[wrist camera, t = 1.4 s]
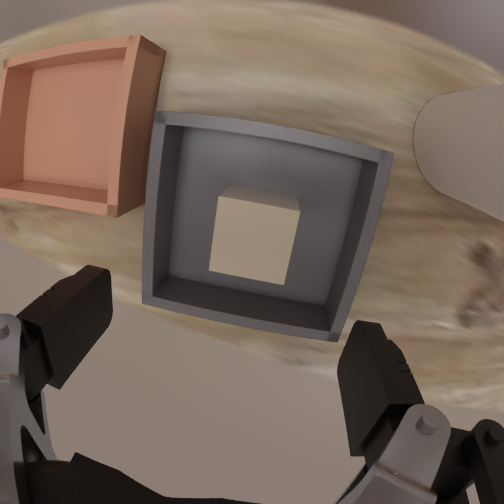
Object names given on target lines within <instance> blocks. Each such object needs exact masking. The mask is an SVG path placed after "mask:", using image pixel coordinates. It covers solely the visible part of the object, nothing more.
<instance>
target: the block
mask: <svg viewBox="0 0 504 504" xmlns="http://www.w3.org/2000/svg"><path fill="white" fill-rule="evenodd" d="M299 215H300V208H299V204H298V199H297V195H292V194H287V193H282V192H277V191H271V190H266V189H261V188H255V187H250V186H244V185H238V184H232V185H231V186H229V187H228V188H227V189H226V190H225V191H224V192H223V193H222V194H220V195H219V197H218V204H217V211H216V218H215V226H214V233H213V241H212V249H211V257H210V265H209V271H214V272H219V273H224V274H229V275H234V276H239V277H244V278H249V279H254V280H260V281H265V282H270V283H275V284H281V285H284V282H285V277H286V273H287V269H288V264H289V260H290V256H291V251H292V247H293V243H294V238H295V234H296V229H297V224H298V220H299Z"/></svg>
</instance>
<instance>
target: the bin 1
mask: <svg viewBox="0 0 504 504" xmlns="http://www.w3.org/2000/svg"><path fill="white" fill-rule="evenodd" d="M165 54H166V51H165V50H163V49H162V48H160V47H159V46H157V45H156V44H154V43H153V42H151V41H149V40H148V39H146V38H145V37H143V36H141V35H135V36H123V37H113V38H104V39H97V40H90V41H83V42H78V43H72V44H67V45H62V46H57V47H52V48H48V49H43V50H39V51H35V52H31V53H28V54H24V55H20V56H17V57H14V58H10V59H7V60H4V64H3V69H2V75H1V80H0V197H3V198H8V199H14V200H20V201H26V202H32V203H38V204H43V205H49V206H55V207H60V208H66V209H72V210H77V211H83V212H89V213H94V214H100V215H105V216H111V217H116V218H117V217H119V216H121V215H123V214H125V213H127V212H128V211H130V210H132V209H134V208H136V207H138V206H140V205H142V204H144V203H145V194H146V182H147V171H148V162H149V153H150V144H151V136H152V129H153V122H154V115H155V108H156V102H157V96H158V90H159V84H160V79H161V74H162V68H163V63H164V59H165Z"/></svg>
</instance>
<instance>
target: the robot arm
mask: <svg viewBox="0 0 504 504" xmlns="http://www.w3.org/2000/svg"><path fill="white" fill-rule="evenodd" d="M112 314H113V306H112V289H111V274H110V272H109V270H108V269H104V268H100V267H96V266H92V265H86V266H85V267H84V268H82V269H81V270H80V271H78V272H77V273H76V274H75V275H72V276H69V277H67V278H64V279H62V280H59V281H58V282H57V283H56V284H54V285H53V286H52V287H51V288H50V290H49V289H48V290H47V291H46V292H44V293H43V295H42V296H39V297H38V298H37V299H36V300H34V301H33V302H32V303H31V304H30V305H29V306H27V307H26V308H25V309H24V310H22V311H21V312H20V313H19V314H18V315H17V316H14V315H11V314H0V504H259V503H249V502H243V501H235V500H229V499H224V498H170V497H165V496H162V495H160V494H158V493H156V492H154V491H152V490H151V489H149V488H147V487H145V486H143V485H142V484H140V483H138V482H137V481H135V480H133V479H132V478H130V477H129V476H127V475H125V474H124V473H122V472H121V471H119V470H117V469H114V468H112V467H109V466H107V465H104V464H101V463H99V462H97V461H95V460H92V459H90V458H88V457H85V456H83V455H81V454H79V453H76V452H75V454H74V456H73V458H72V460H71V461H70V462H68V461H60V460H57V458H56V455H55V453H54V451H53V448H52V444H51V440H50V434H49V427H48V421H47V413H46V404H45V395H44V392H43V388H44V386H45V385H46V384H49V385H51V386H53V387H55V388H57V389H61V387H62V386H63V384H64V383H65V382H66V381H67V379H68V378H69V377H70V375H71V374H72V373H73V371H74V370H75V369H76V367H77V366H78V365H79V363H80V362H81V361H82V360H83V358H84V357H85V356H86V354H87V353H88V352H89V350H90V349H91V348H92V347H93V345H94V344H95V343H96V341H97V340H98V339H99V338H100V336H101V335H102V334H103V333H104V332H105V330H106V329H107V328H108V326H109V324H110V322H111V319H112ZM410 372H411V370H410V368H409V366H408V364H406V359H405V357H404V355H403V353H402V351H401V350H400V349H399V348H398V346H397V345H396V344H395V343H394V342H393V341H392V340H387V337H386V335H385V333H384V331H383V328H382V326H381V325H380V324H379V323H374V322H367V321H360V320H357V321H356V322H355V323H354V325H353V327H352V330H351V332H350V335H349V337H348V340H347V342H346V345H345V347H344V349H343V352H342V354H341V356H340V359H339V363H338V369H337V376H338V381H339V387H340V392H341V398H342V404H343V410H344V416H345V422H346V429H347V435H348V441H349V449H350V456H365V462H366V463H365V464H364V465H363V466H362V468H361V469H360V470H359V472H358V473H357V475H356V476H355V477H354V479H353V480H352V481H351V483H350V484H349V485H348V487H347V488H346V489H345V490H344V492H343V493H342V494H341V496H340V497H339V498H338V499H337V501H336V502H335V503H334V504H469V500H468V496H467V492H466V489H467V488H468V487H470V486H471V485H472V484H473V483H475V487H476V490H477V494H478V498H479V501H480V504H504V428H503V427H502V426H501V425H500V424H499V423H497V422H495V421H493V420H489V419H484V420H481V421H479V422H478V423H477V424H476V425H475V427H474V428H473V429H472V430H471V431H466V430H461V429H457V428H452V427H450V423H449V421H448V419H447V418H446V416H445V415H444V414H443V413H442V412H441V411H440V410H438V409H437V408H435V407H433V406H430V405H426V404H425V403H424V400H423V398H422V396H421V393H420V391H419V389H418V386H417V384H416V382H415V379H414V377H413V375H412V373H410Z"/></svg>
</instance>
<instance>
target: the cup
mask: <svg viewBox="0 0 504 504" xmlns="http://www.w3.org/2000/svg"><path fill="white" fill-rule="evenodd" d="M413 144H414V152H415V157H416V160H417V163H418V166H419V168H420V170H421V172H422V174H423V176H424V177H425V179H426V180H427V181H428V182H429V183H430V185H431V186H433V187H434V188H435V189H436V190H437V191H439V192H441V193H442V194H445V195H447V196H449V197H452V198H454V199H456V200H458V201H461V202H463V203H465V204H467V205H469V206H472V207H474V208H476V209H478V210H480V211H482V212H484V213H486V214H488V215H491V216H493V217H495V218H497V219H499V220H501V221H502V222H504V84H502V85H495V86H488V87H482V88H476V89H471V90H465V91H460V92H455V93H450V94H445V95H440V96H437V97H435V98H433V99H432V100H430V101H429V102H428V103H427V104H426V105H425V106H424V107H423V109H422V110H421V112H420V113H419V115H418V118H417V120H416V123H415V128H414V136H413Z"/></svg>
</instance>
